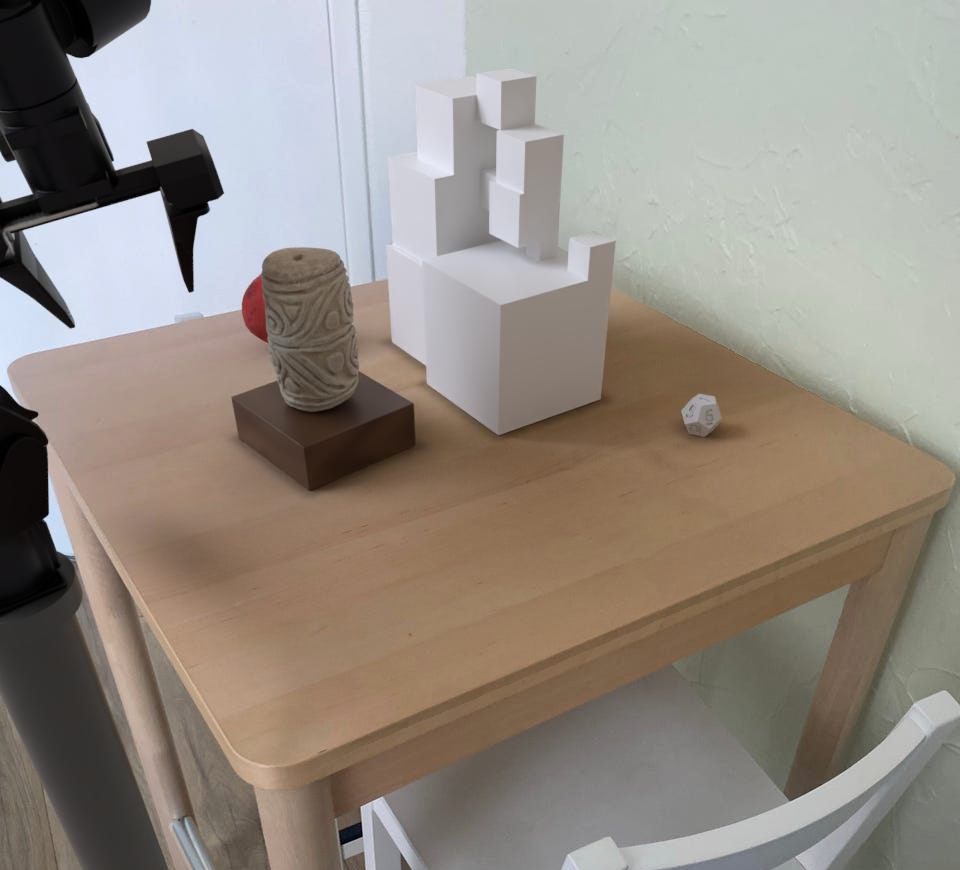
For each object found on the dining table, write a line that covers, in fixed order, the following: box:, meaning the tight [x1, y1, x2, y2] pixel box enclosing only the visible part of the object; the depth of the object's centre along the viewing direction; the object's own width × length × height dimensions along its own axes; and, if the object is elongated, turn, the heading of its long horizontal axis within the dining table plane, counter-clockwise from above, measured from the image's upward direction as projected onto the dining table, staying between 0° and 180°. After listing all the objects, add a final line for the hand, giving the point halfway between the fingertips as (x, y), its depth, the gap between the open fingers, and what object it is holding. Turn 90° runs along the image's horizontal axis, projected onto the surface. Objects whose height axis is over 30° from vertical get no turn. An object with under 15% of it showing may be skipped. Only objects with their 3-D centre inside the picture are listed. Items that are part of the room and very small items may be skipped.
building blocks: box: [385, 67, 617, 436], centre depth 85 cm, size 22×12×25 cm, turn 35°
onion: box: [241, 273, 269, 344], centre depth 95 cm, size 6×6×8 cm
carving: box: [260, 246, 360, 412], centre depth 77 cm, size 6×8×12 cm
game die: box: [680, 393, 723, 438], centre depth 84 cm, size 4×4×3 cm
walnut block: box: [231, 370, 417, 491], centre depth 82 cm, size 11×11×4 cm
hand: (132, 307), depth 73 cm, fingers open, 9 cm apart
